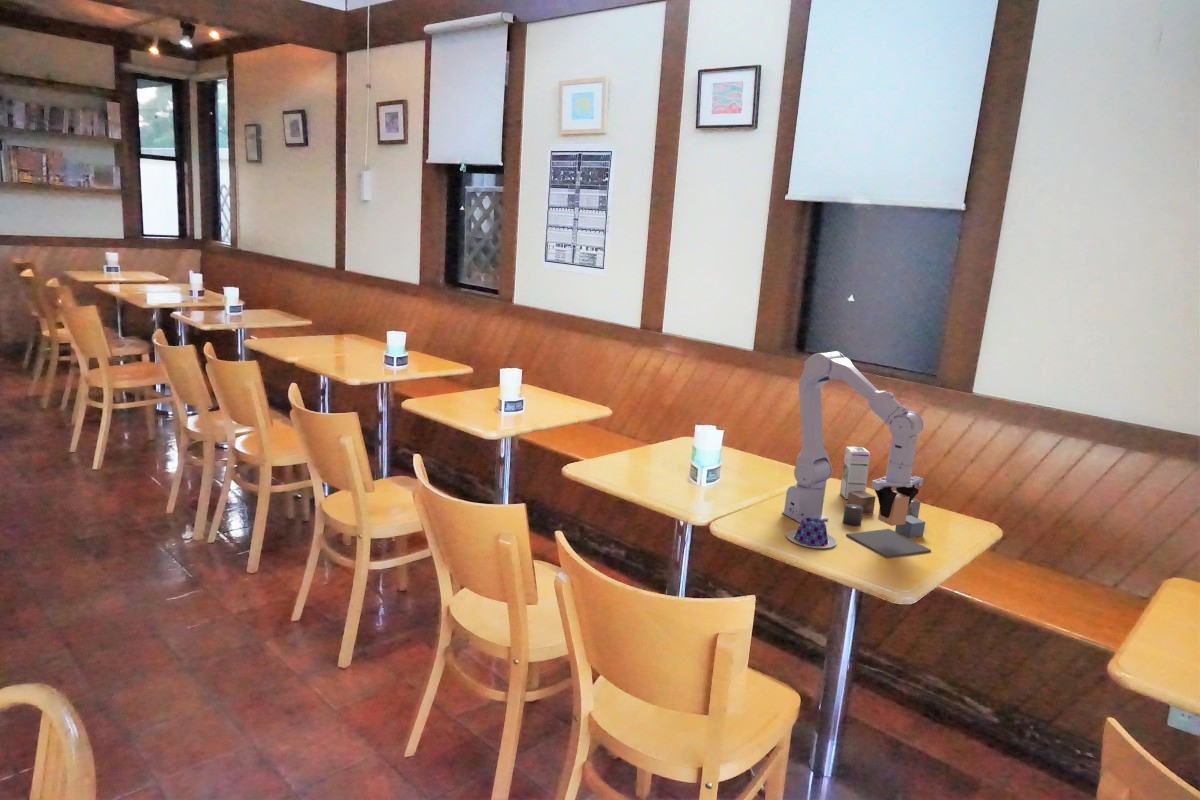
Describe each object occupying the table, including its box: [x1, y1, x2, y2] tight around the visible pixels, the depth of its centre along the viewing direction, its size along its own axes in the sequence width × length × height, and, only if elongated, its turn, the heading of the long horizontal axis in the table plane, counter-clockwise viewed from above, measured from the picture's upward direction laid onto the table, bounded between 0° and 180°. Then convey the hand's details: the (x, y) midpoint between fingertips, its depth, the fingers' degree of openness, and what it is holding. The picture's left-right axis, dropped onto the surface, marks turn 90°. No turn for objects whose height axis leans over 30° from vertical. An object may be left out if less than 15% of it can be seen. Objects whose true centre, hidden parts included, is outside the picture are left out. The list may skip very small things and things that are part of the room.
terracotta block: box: [877, 490, 910, 527], centre depth 194 cm, size 4×4×7 cm
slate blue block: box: [894, 515, 926, 539], centre depth 204 cm, size 4×5×4 cm
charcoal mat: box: [845, 528, 932, 559], centre depth 196 cm, size 14×14×1 cm
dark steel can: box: [907, 497, 921, 519], centre depth 214 cm, size 4×4×6 cm
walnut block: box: [846, 490, 877, 515], centre depth 218 cm, size 5×5×5 cm
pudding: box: [785, 517, 837, 549], centre depth 194 cm, size 12×12×5 cm
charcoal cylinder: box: [842, 503, 863, 527], centre depth 209 cm, size 5×5×4 cm
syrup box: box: [839, 446, 871, 500], centre depth 229 cm, size 6×6×14 cm
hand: (892, 515), depth 195 cm, fingers closed on terracotta block, 4 cm apart
